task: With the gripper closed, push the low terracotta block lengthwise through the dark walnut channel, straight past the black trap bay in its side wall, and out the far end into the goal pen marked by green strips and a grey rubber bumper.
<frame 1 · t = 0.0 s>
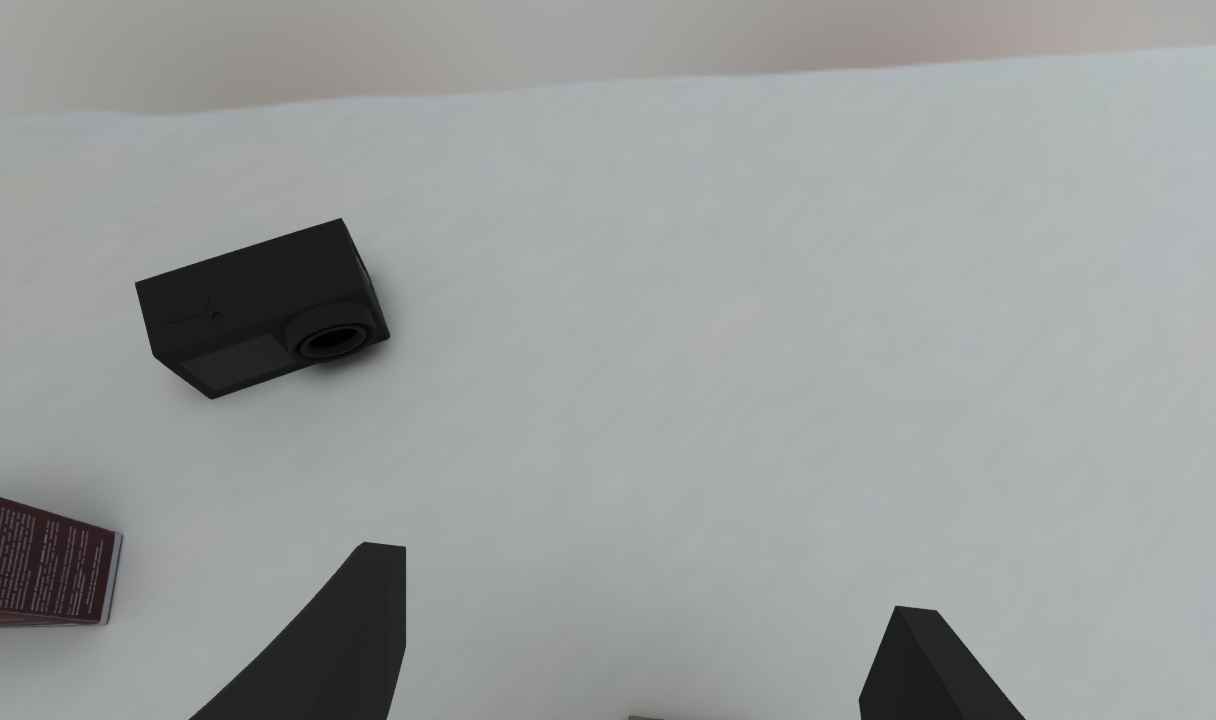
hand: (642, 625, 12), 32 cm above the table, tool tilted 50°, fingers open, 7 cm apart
digital camera: (295, 346, 48), on the table
supplement box: (32, 578, 43), on the table
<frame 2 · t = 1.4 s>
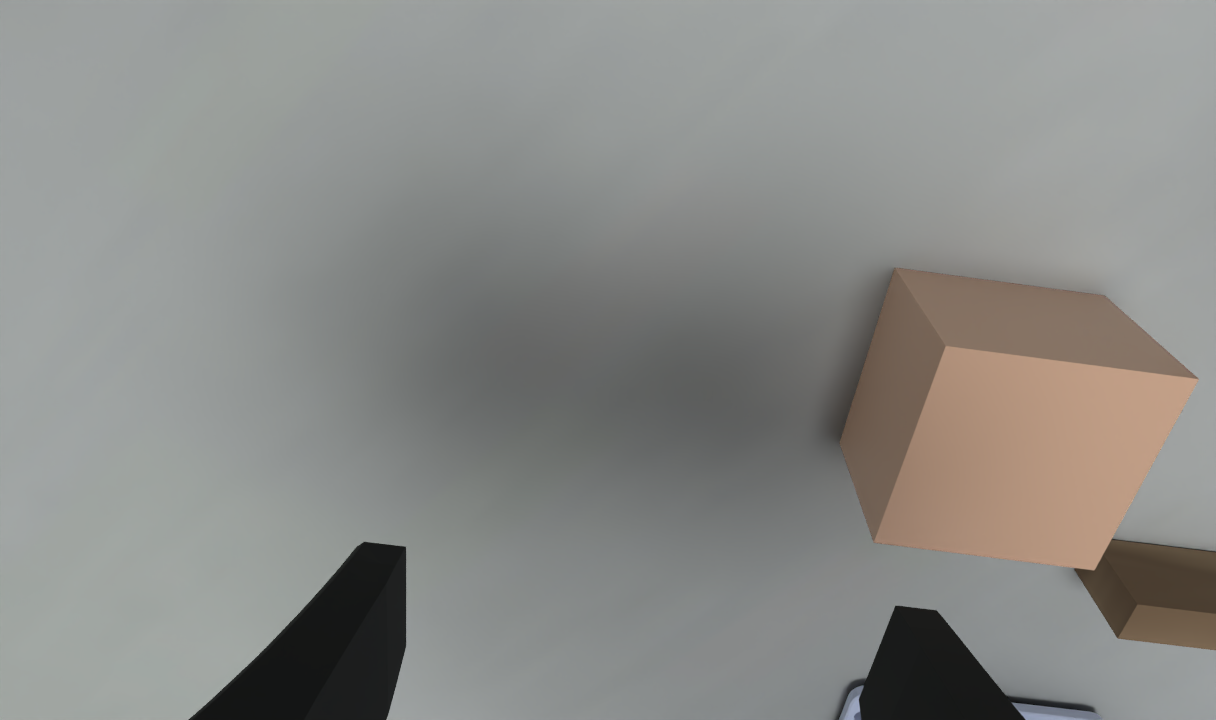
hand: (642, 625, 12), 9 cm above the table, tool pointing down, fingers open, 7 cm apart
block: (962, 370, 21), on the table
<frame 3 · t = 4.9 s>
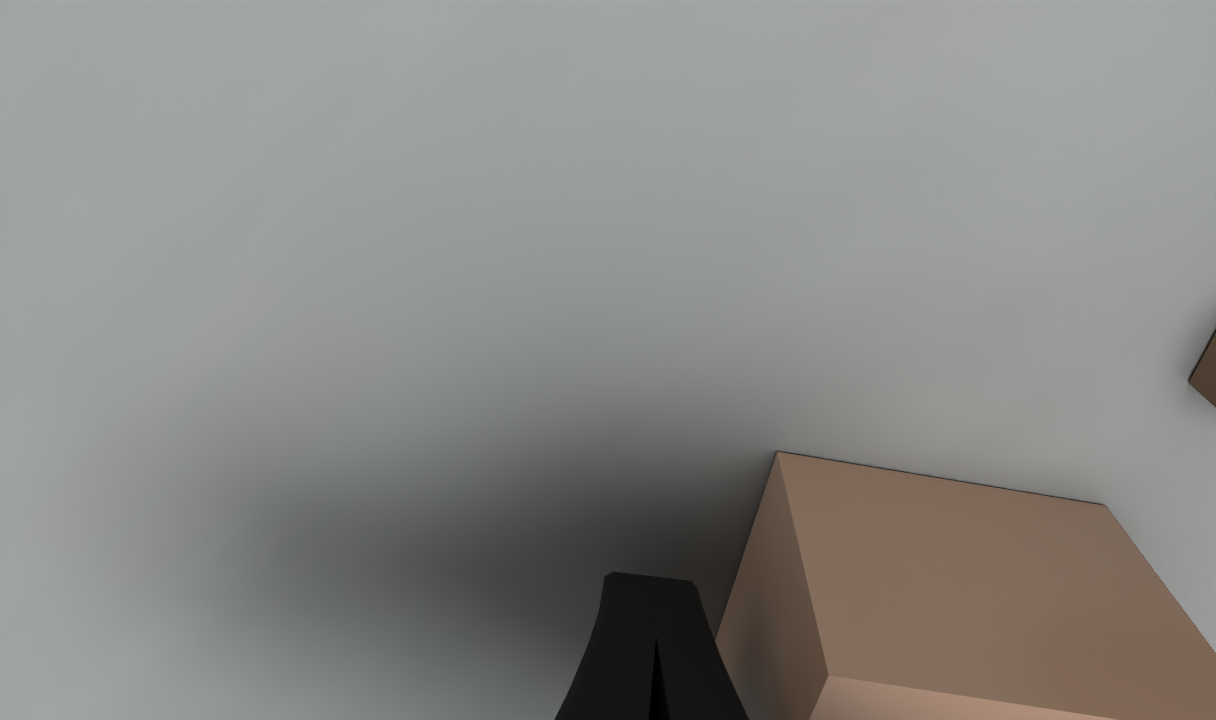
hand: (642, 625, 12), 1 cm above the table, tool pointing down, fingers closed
block: (887, 600, 14), on the table, touching gripper
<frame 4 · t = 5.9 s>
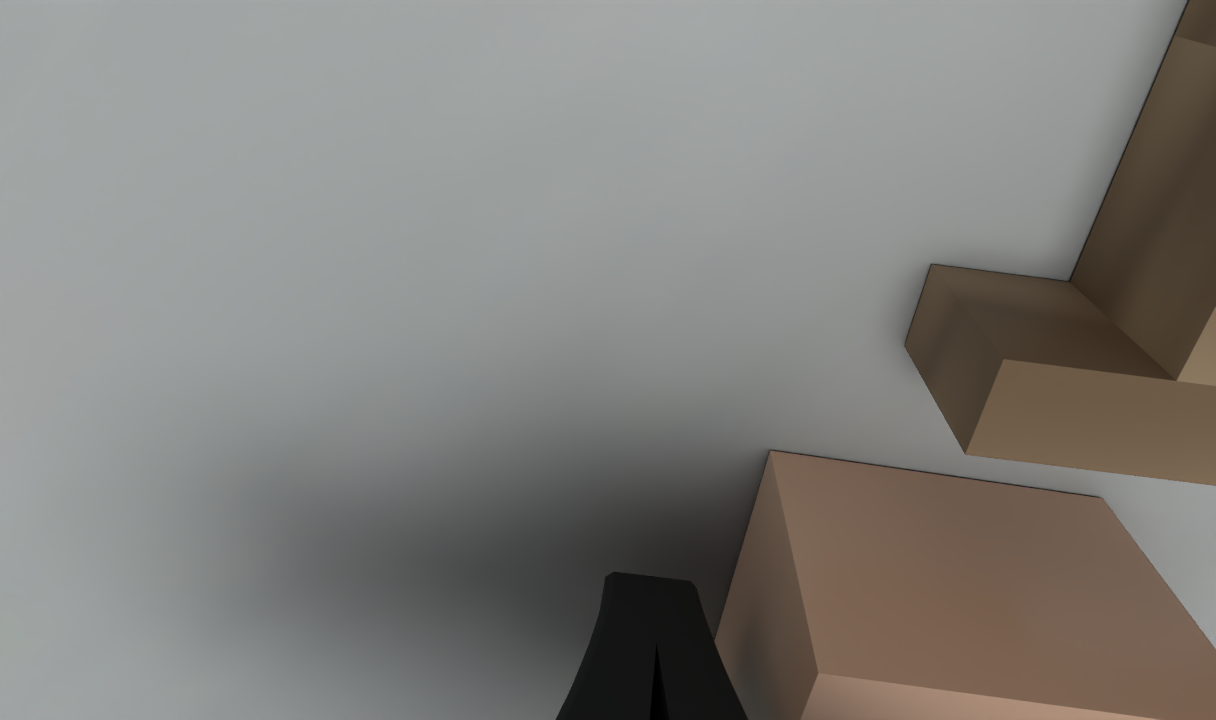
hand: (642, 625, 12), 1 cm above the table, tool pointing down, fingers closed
block: (885, 597, 14), on the table, touching gripper
channel: (1127, 627, 14), on the table
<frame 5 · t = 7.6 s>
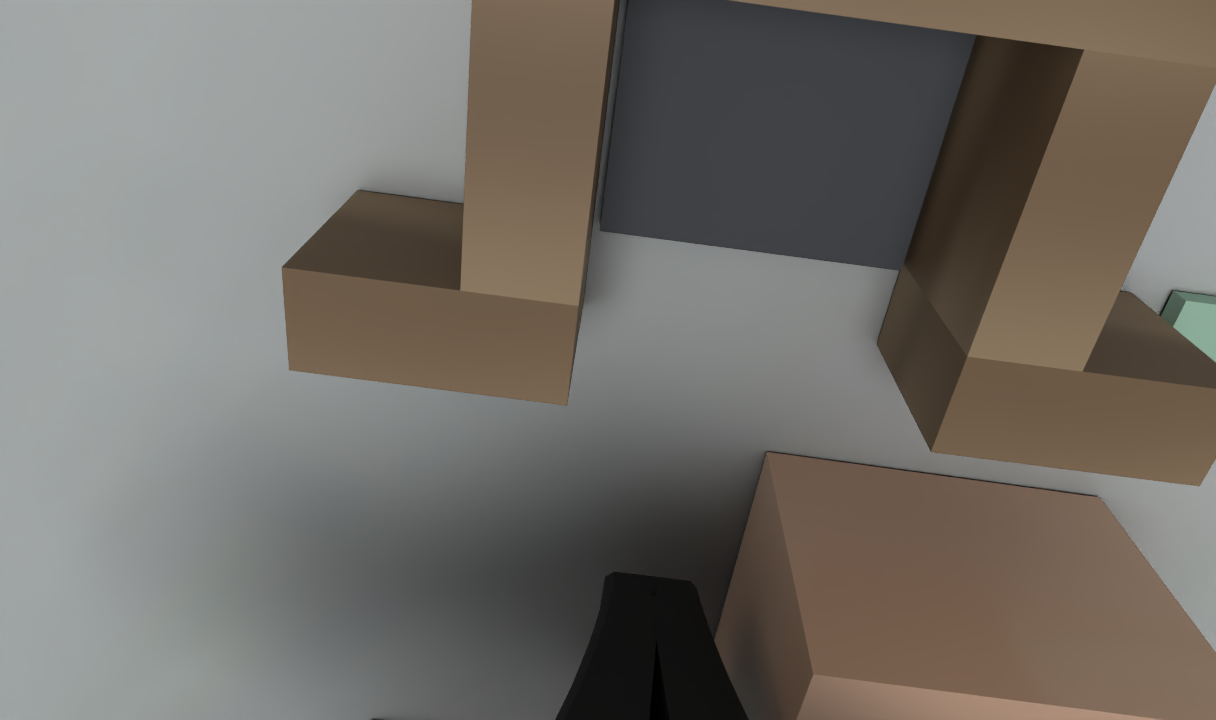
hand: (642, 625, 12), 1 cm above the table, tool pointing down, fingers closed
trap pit: (774, 124, 10), resting in channel
block: (884, 598, 14), on the table, touching gripper
channel: (676, 573, 13), on the table
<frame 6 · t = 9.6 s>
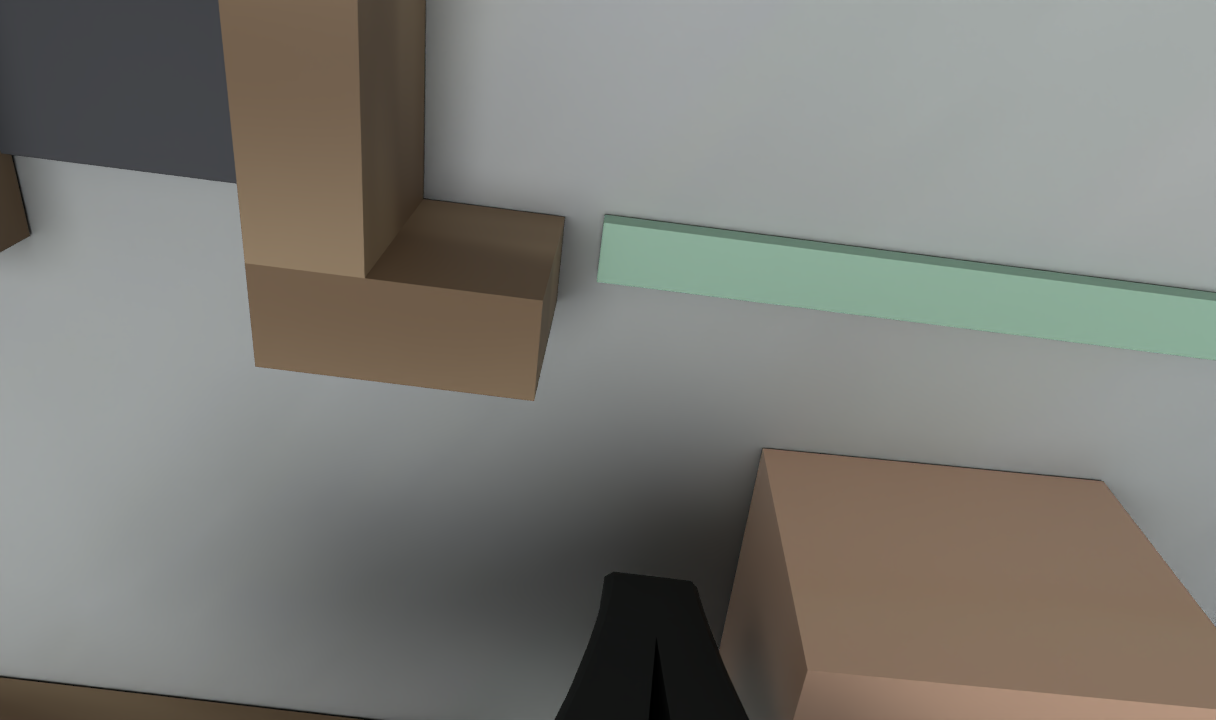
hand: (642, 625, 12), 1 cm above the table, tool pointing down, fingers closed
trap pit: (151, 40, 10), resting in channel
block: (890, 590, 13), on the table, touching gripper
channel: (218, 517, 13), on the table
goal pen: (901, 599, 14), on the table
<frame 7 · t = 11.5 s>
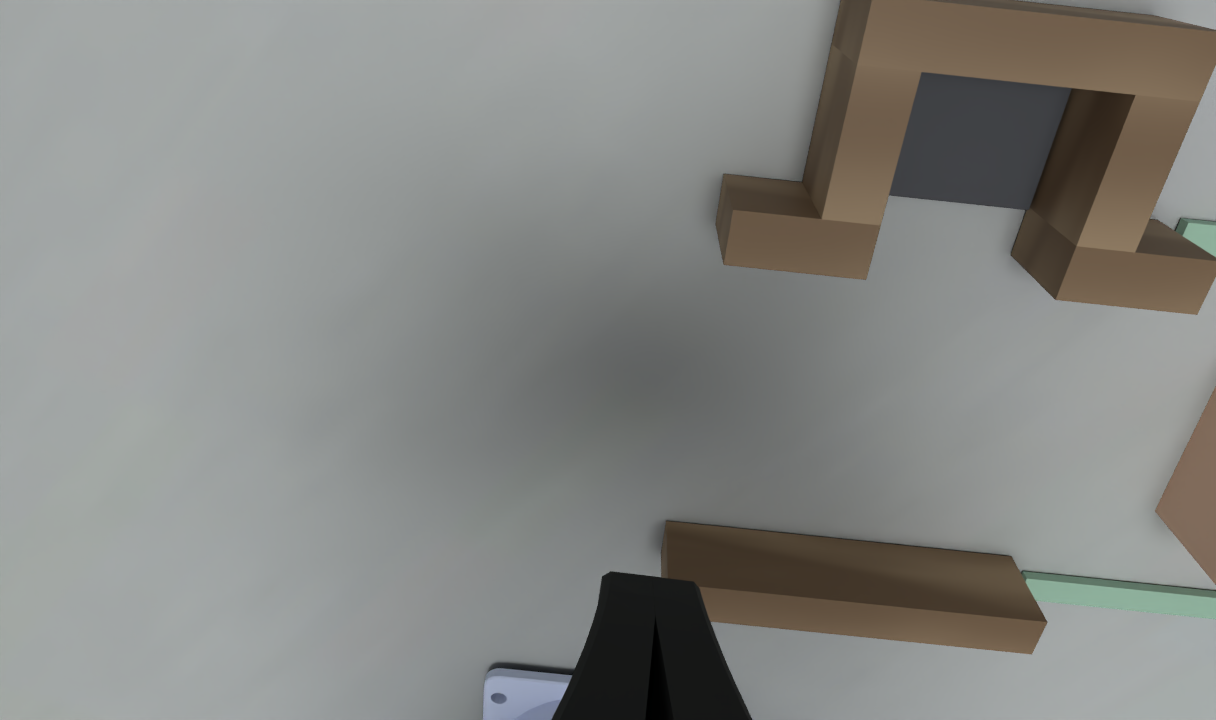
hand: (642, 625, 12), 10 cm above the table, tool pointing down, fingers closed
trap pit: (960, 131, 18), resting in channel
channel: (878, 407, 22), on the table
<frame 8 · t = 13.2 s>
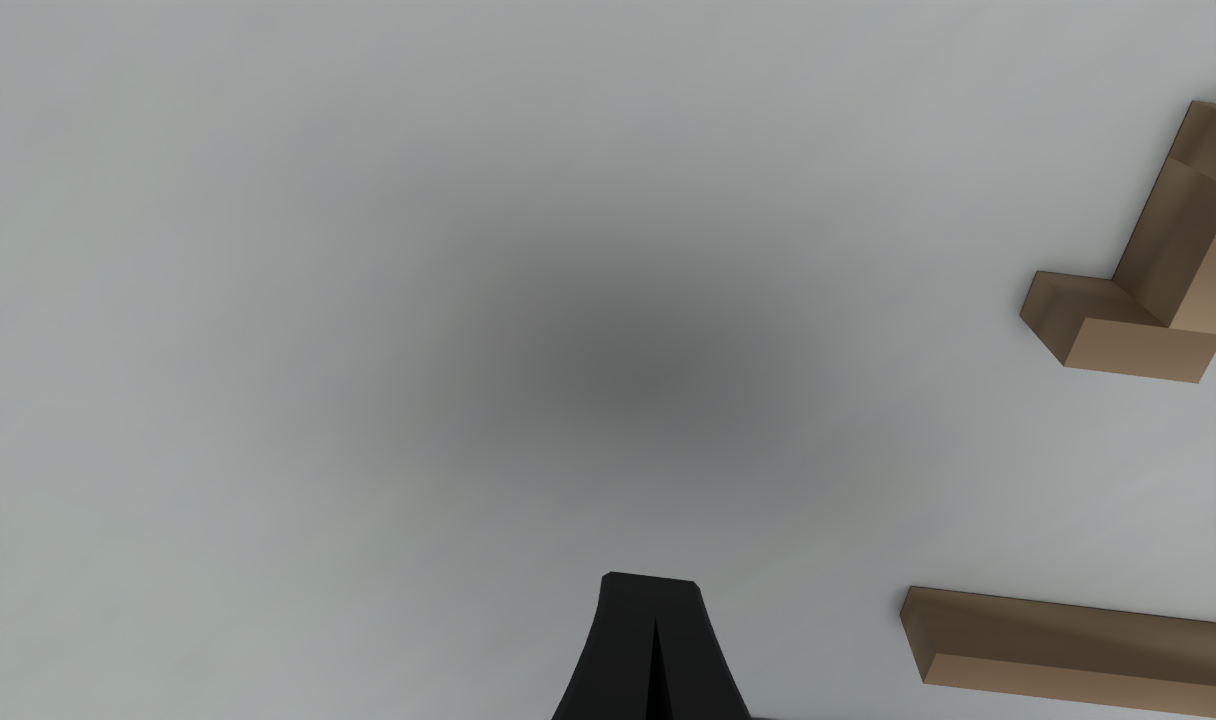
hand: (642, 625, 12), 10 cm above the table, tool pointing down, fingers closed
channel: (1141, 486, 23), on the table
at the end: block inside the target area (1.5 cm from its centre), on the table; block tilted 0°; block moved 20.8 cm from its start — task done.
